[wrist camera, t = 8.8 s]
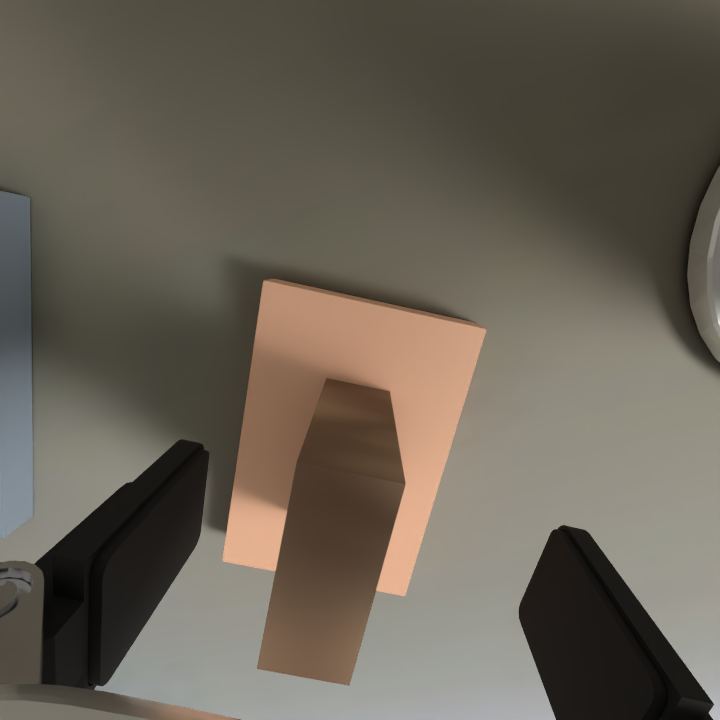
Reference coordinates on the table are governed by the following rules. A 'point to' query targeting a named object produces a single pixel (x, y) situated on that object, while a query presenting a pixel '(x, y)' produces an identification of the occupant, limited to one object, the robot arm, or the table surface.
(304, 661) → the stub
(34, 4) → the table surface
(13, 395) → the board
